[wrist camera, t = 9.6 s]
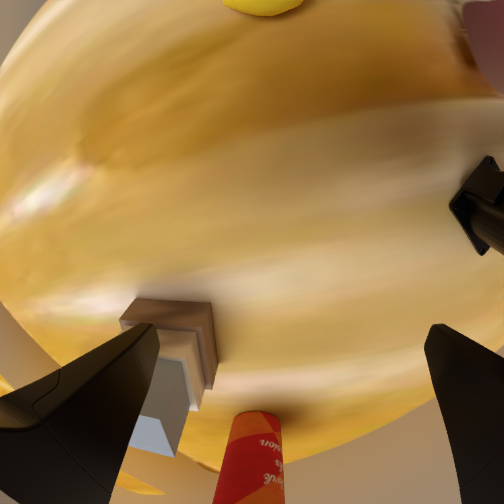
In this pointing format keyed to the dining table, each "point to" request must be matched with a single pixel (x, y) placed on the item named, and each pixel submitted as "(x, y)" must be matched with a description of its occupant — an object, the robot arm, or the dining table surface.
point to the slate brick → (163, 410)
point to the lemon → (262, 6)
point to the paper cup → (252, 462)
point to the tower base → (179, 321)
